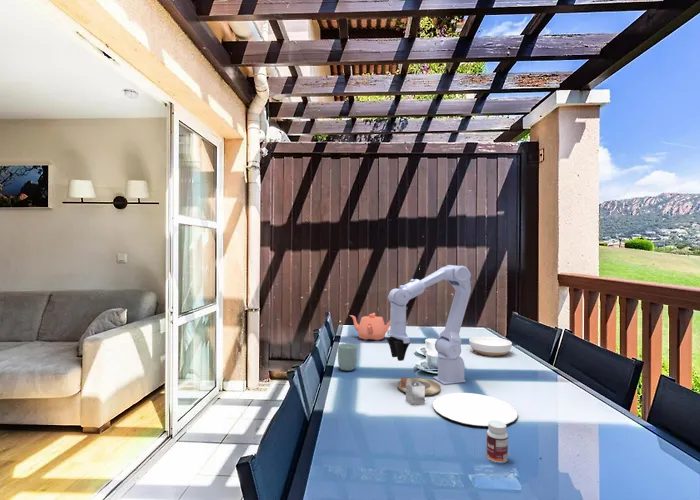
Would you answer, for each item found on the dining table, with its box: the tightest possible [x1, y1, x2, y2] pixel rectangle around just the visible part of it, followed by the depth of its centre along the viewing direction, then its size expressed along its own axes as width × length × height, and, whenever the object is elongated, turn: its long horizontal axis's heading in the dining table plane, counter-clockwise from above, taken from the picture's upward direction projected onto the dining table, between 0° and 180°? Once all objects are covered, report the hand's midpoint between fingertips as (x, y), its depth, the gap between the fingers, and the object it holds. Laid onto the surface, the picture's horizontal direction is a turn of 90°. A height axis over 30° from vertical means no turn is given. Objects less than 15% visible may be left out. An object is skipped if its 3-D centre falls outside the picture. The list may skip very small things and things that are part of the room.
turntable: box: [397, 376, 442, 396], centre depth 140 cm, size 15×15×4 cm
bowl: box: [468, 336, 513, 357], centre depth 190 cm, size 20×20×6 cm
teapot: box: [349, 312, 390, 342], centre depth 219 cm, size 18×18×14 cm
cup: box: [337, 342, 358, 372], centre depth 163 cm, size 8×8×10 cm
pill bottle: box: [486, 420, 509, 463], centre depth 94 cm, size 5×5×8 cm
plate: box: [432, 392, 518, 428], centre depth 121 cm, size 25×25×2 cm
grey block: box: [405, 381, 426, 406], centre depth 128 cm, size 4×4×6 cm
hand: (397, 358), depth 144 cm, fingers open, 4 cm apart
